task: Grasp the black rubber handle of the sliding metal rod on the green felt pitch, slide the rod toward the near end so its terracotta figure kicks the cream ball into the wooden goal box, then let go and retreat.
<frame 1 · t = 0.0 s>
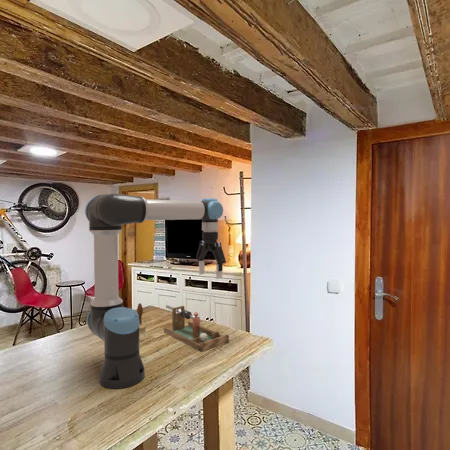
hand: (210, 276, 158), 28 cm above the table, fingers open, 13 cm apart
kicker: (181, 318, 161), point 7 cm above the table, slide at 0.0 cm
ball: (203, 341, 148), point 1 cm above the table, touching pitch
hand bell: (139, 337, 156), on the table
pitch: (195, 339, 153), on the table
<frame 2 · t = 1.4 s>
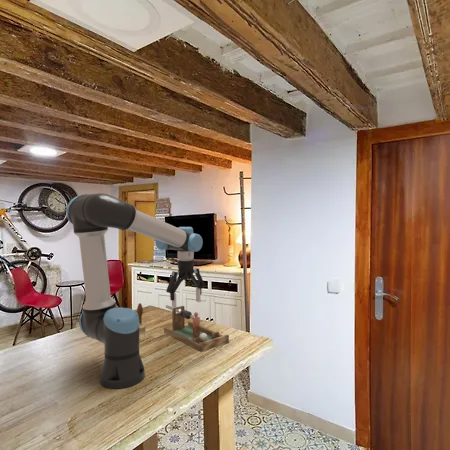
hand: (186, 304, 158), 15 cm above the table, fingers open, 13 cm apart
nothing on the table moved.
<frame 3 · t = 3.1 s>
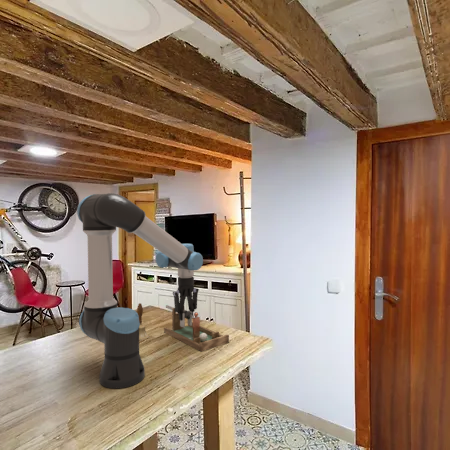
hand: (186, 325, 158), 5 cm above the table, fingers closed on kicker, 3 cm apart
kicker: (181, 318, 161), point 7 cm above the table, slide at 0.0 cm, touching gripper
everything else where it was.
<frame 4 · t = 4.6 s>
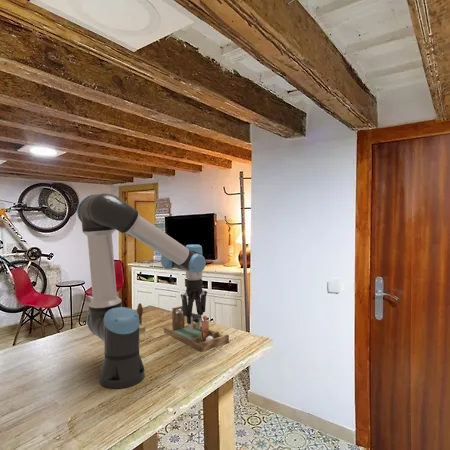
hand: (194, 329, 153), 5 cm above the table, fingers closed on kicker, 3 cm apart
kicker: (189, 321, 156), point 7 cm above the table, slide at 6.7 cm, touching gripper
ball: (208, 336, 145), point 4 cm above the table, tilted 149°, touching pitch
everything else where it was.
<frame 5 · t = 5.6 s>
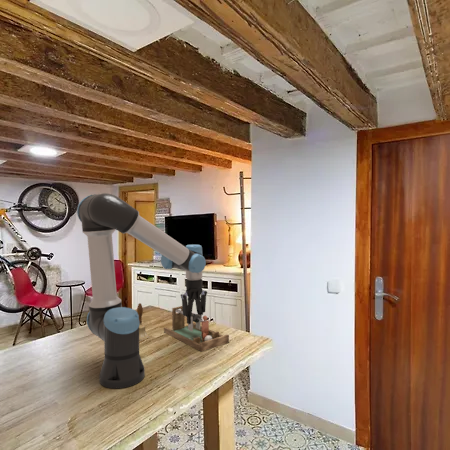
hand: (194, 329, 153), 5 cm above the table, fingers open, 3 cm apart
kicker: (189, 321, 156), point 7 cm above the table, slide at 6.8 cm
ball: (206, 336, 146), point 4 cm above the table, tilted 117°, touching pitch
everything else where it was.
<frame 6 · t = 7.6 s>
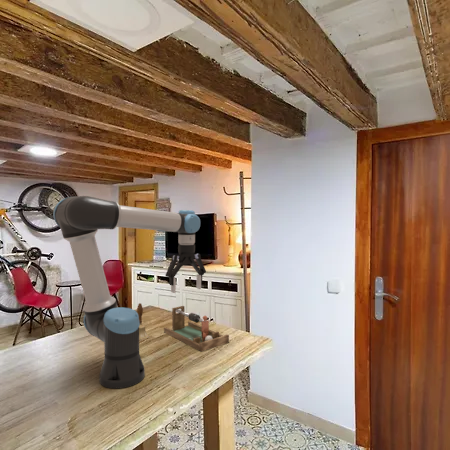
hand: (186, 290, 153), 22 cm above the table, fingers open, 13 cm apart
ball: (206, 336, 146), point 4 cm above the table, tilted 126°, touching pitch
everything else where it was.
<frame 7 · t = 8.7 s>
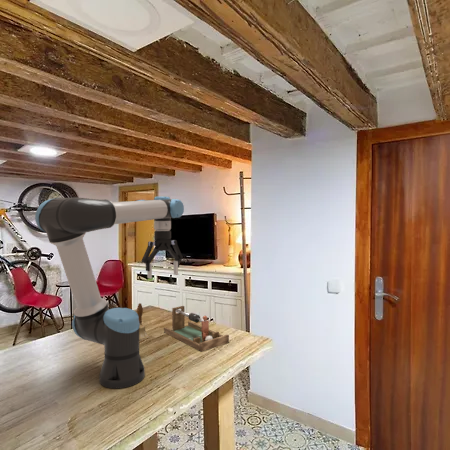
hand: (163, 276, 154), 29 cm above the table, fingers open, 13 cm apart
ball: (207, 336, 146), point 4 cm above the table, tilted 131°, touching pitch
everything else where it was.
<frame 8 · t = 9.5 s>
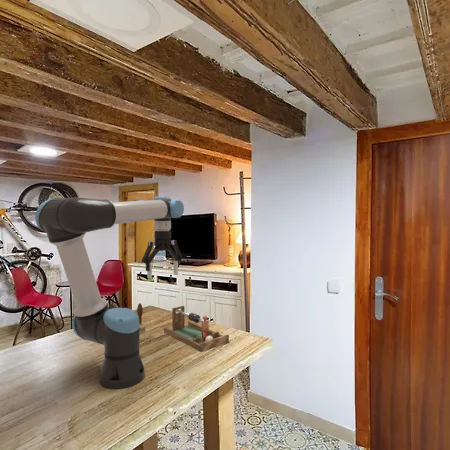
hand: (163, 276, 154), 29 cm above the table, fingers open, 13 cm apart
nothing on the table moved.
at the end: ball 2.1 cm from the target spot, point 4.2 cm above the table; kicker slide at 6.8 cm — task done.
